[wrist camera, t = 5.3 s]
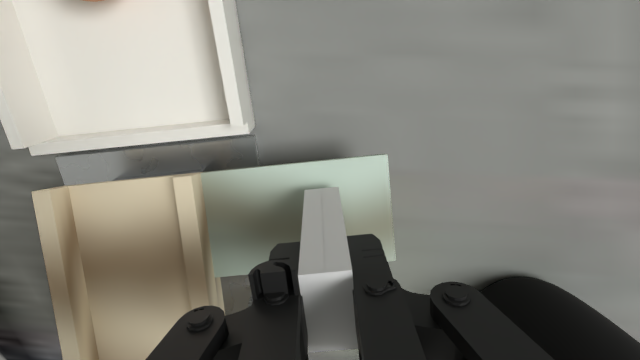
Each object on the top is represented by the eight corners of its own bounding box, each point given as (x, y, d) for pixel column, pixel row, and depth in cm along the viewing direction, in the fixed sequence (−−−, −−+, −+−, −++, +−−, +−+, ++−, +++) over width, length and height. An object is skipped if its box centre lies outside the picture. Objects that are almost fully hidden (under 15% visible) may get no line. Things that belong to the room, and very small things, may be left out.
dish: (-25, -90, 17) (-137, -136, 13) (216, -119, 17) (182, -175, 13) (57, 146, 21) (-9, 171, 17) (255, 125, 21) (239, 146, 16)
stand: (61, 154, 21) (-75, 211, 14) (255, 134, 21) (221, 182, 13) (154, 423, 28) (96, 556, 21) (299, 410, 28) (293, 541, 20)
